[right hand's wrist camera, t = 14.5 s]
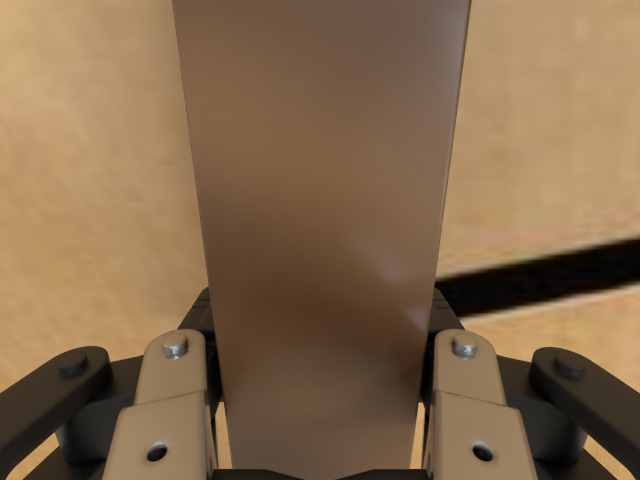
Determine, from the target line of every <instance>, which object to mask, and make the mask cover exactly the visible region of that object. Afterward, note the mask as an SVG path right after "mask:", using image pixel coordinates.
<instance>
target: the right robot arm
mask: <svg viewBox="0 0 640 480" xmlns="http://www.w3.org/2000/svg"><path fill="white" fill-rule="evenodd" d="M219 402H224V399H223V391H222V384H221V376H220V368H219V360H218V353H217V345H216V337H215V329H214V321H213V314H212V306H211V298H210V290H209V286H208V287H207V288H205V289H204V290H202V292H201V294H200V295H199V297H198V298H197V301H195V303H194V304H193V306H192V309H190V310H189V312H188V313H187V315H186V317H185V318H184V320H183V321H182V323H181V324H180V326H179V327H178V329H177V330H174V331H170V332H167V333H165V334H162V335H160V336H158V337H157V338H155V339H154V340H153V341H151V342H150V343H149V345H148V346H147V347H146V349H145V353H144V355H142V356H138V357H133V358H129V359H124V360H119V361H114V362H110V359H109V355H108V352H107V351H106V350H105V349H104V348H101V347H97V346H87V347H80V348H76V349H72V350H69V351H67V352H64V353H62V354H60V355H58V356H56V357H54V358H52V359H51V360H49V361H48V362H46V363H45V364H43V365H42V366H40V367H39V368H37V369H36V370H34V371H33V372H31V373H30V374H28V375H27V376H25V377H24V378H22V379H21V380H19V381H18V382H16V383H15V384H13V385H12V386H11V387H9V388H8V389H6V390H5V391H3V392H2V393H0V480H6V478H7V476H8V475H9V473H10V472H11V471H12V470H13V469H14V467H15V466H17V465H18V464H19V463H20V462H21V461H22V460H23V459H24V458H25V457H27V456H28V455H29V454H30V453H31V452H32V451H33V450H35V449H36V448H37V447H38V446H39V445H40V444H41V443H43V442H44V441H45V440H46V439H47V438H48V437H49V436H51V435H52V434H53V433H54V432H55V434H56V437H57V440H58V442H59V446H58V447H57V448H56V449H55V450H54V451H53V452H52V453H51V454H50V455H49V456H48V457H46V458H45V459H44V460H43V461H42V462H41V463H40V464H39V465H38V466H37V467H36V468H35V469H33V470H32V471H31V472H30V473H29V474H28V475H27V476H26V477H25V478H24V479H23V480H304V479H300V478H297V477H293V476H289V475H286V474H282V473H278V472H275V471H271V470H267V469H220V468H219V452H218V436H217V421H216V411H217V408H218V405H219ZM419 402H423V405H424V407H425V414H424V421H423V435H422V451H421V467H420V469H373V470H369V471H365V472H362V473H358V474H354V475H351V476H347V477H343V478H340V479H336V480H617V479H616V478H615V477H614V476H613V475H612V474H611V473H610V472H609V471H608V470H607V469H605V468H604V467H603V466H602V465H601V464H600V463H599V462H598V461H597V460H596V459H595V458H594V457H593V456H591V455H590V454H589V453H588V452H587V451H586V450H585V449H584V448H583V447H584V444H585V442H586V439H587V436H588V435H589V436H591V437H592V438H593V439H594V440H595V441H596V442H597V443H599V444H600V445H601V446H602V447H603V448H604V449H605V450H607V451H608V452H609V453H610V454H611V455H612V456H613V457H615V458H616V459H617V460H618V461H619V462H620V463H621V464H622V465H624V466H625V467H626V468H627V469H628V470H629V471H630V472H631V474H632V475H633V476H634V478H635V479H636V480H640V393H638V392H637V391H635V390H634V389H632V388H631V387H630V386H628V385H627V384H625V383H624V382H622V381H621V380H619V379H618V378H616V377H615V376H613V375H612V374H610V373H609V372H607V371H606V370H604V369H603V368H601V367H600V366H598V365H597V364H595V363H594V362H592V361H591V360H589V359H587V358H586V357H584V356H582V355H580V354H577V353H575V352H572V351H569V350H566V349H561V348H555V347H544V348H540V349H538V350H536V351H535V352H534V354H533V358H532V361H531V362H526V361H521V360H517V359H512V358H507V357H503V356H499V355H496V353H495V350H494V347H493V346H492V345H491V343H490V342H489V341H487V340H486V339H485V338H483V337H482V336H480V335H478V334H475V333H473V332H470V331H466V330H465V329H464V327H463V326H462V324H461V323H460V321H459V320H458V318H457V317H456V315H455V314H454V312H453V311H452V309H450V306H449V304H448V303H447V301H445V298H444V297H443V295H442V294H441V292H440V291H439V290H438V289H436V288H435V287H434V290H433V297H432V305H431V313H430V320H429V328H428V335H427V343H426V350H425V358H424V366H423V373H422V381H421V388H420V396H419Z"/></svg>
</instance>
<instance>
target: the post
mask: <svg viewBox="0 0 640 480" xmlns="http://www.w3.org/2000/svg"><path fill="white" fill-rule="evenodd" d="M471 2H472V0H172V3H173V11H174V18H175V26H176V34H177V42H178V50H179V57H180V65H181V73H182V81H183V88H184V96H185V104H186V112H187V119H188V127H189V135H190V143H191V151H192V158H193V166H194V174H195V182H196V189H197V197H198V205H199V213H200V220H201V228H202V236H203V244H204V252H205V259H206V267H207V275H208V283H209V290H210V298H211V306H212V314H213V321H214V329H215V337H216V345H217V353H218V360H219V368H220V376H221V384H222V391H223V399H224V407H225V415H226V422H227V430H228V438H229V446H230V454H231V461H232V469H267V470H271V471H275V472H278V473H282V474H286V475H289V476H293V477H297V478H300V479H304V480H336V479H340V478H343V477H347V476H351V475H354V474H358V473H362V472H365V471H369V470H373V469H410V464H411V456H412V449H413V441H414V434H415V426H416V418H417V411H418V403H419V396H420V388H421V381H422V373H423V366H424V358H425V350H426V343H427V335H428V328H429V320H430V313H431V305H432V297H433V290H434V282H435V275H436V267H437V260H438V252H439V244H440V237H441V229H442V222H443V214H444V207H445V199H446V191H447V184H448V176H449V169H450V161H451V154H452V146H453V139H454V131H455V123H456V116H457V108H458V101H459V93H460V86H461V78H462V70H463V63H464V55H465V48H466V40H467V33H468V25H469V17H470V10H471Z"/></svg>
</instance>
